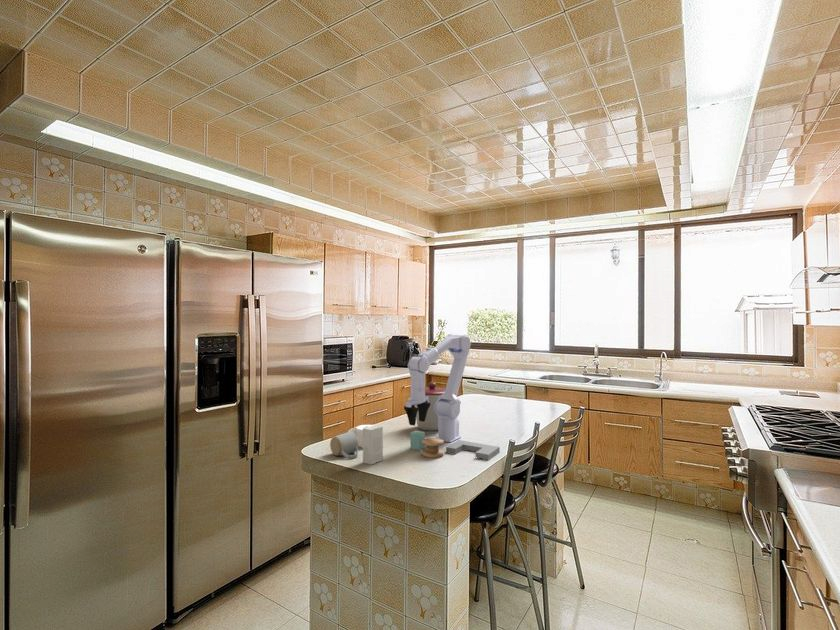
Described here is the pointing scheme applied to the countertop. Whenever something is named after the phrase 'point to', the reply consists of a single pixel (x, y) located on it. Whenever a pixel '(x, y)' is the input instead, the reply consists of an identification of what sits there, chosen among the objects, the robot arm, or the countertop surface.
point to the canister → (430, 408)
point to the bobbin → (432, 447)
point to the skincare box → (372, 444)
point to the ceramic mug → (344, 445)
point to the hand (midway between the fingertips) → (417, 423)
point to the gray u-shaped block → (474, 449)
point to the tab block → (417, 440)
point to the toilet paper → (359, 433)
